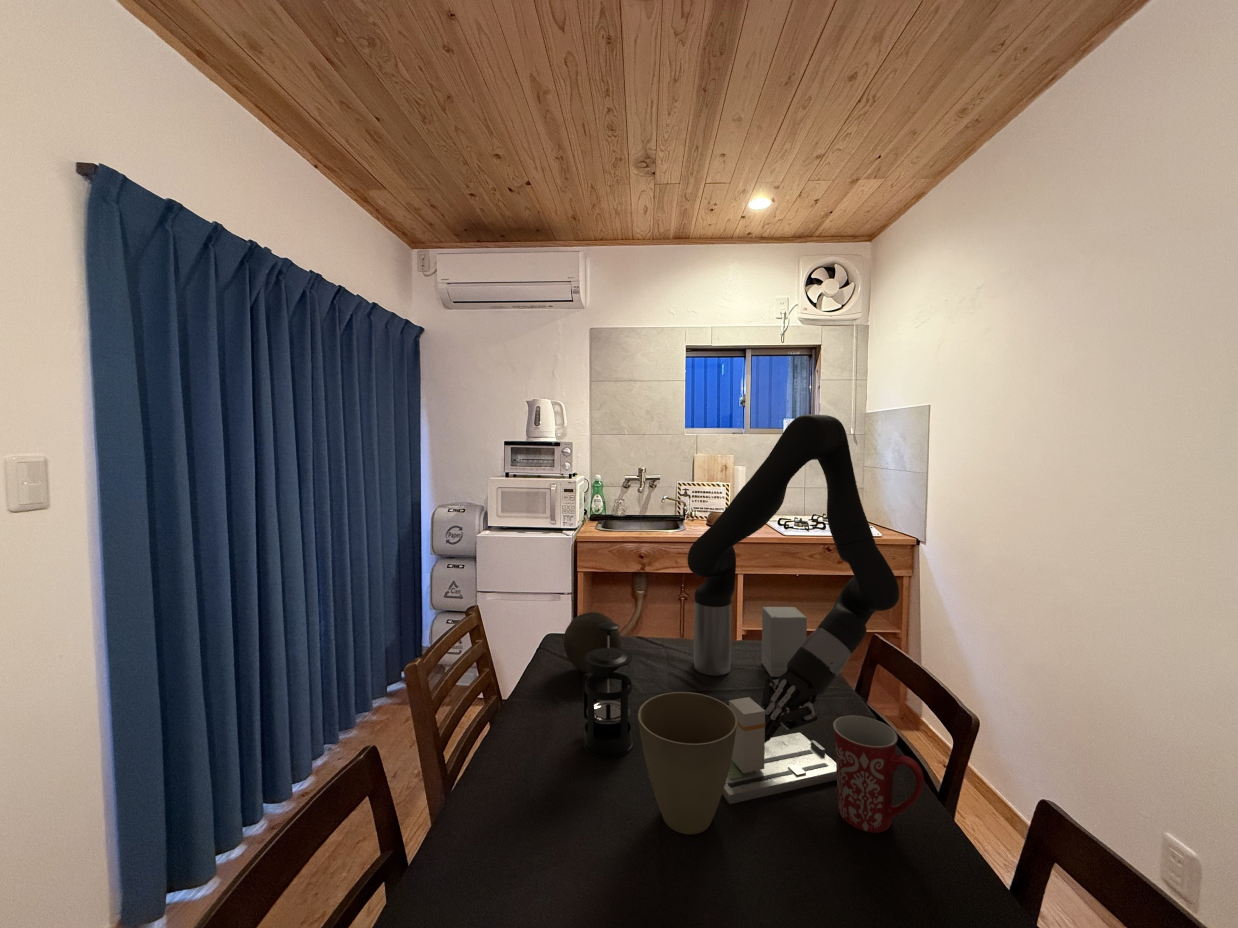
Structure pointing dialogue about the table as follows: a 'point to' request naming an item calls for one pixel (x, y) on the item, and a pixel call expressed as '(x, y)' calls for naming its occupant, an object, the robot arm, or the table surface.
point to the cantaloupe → (587, 638)
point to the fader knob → (748, 735)
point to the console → (781, 769)
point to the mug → (869, 772)
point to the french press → (607, 700)
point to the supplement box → (781, 637)
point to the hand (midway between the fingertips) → (759, 737)
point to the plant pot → (687, 755)
